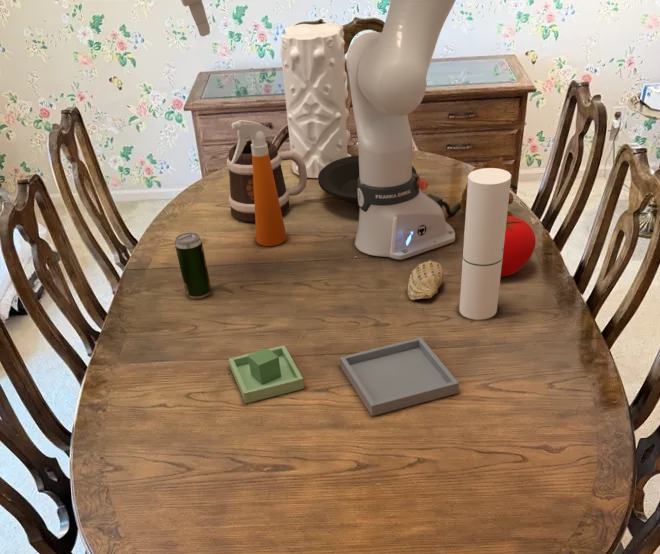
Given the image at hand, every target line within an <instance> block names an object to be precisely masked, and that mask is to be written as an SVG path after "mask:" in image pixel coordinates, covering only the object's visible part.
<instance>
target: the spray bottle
mask: <svg viewBox="0 0 660 554" xmlns="http://www.w3.org/2000/svg"><path fill="white" fill-rule="evenodd" d="M231 129H232V130H235V131H237V132H236V136H237V143H236V144H237V147H236V150H235V153H234V156H233V159H232V161H231V164H234V163H235V162H236V161H237V159H238V158H239V156H240V155H241V153H242V151H243V149H244V147H245V145H246V142H247V141H249V140H252V144H251V150H252V164H253V183H254V202H255V222H256V223H255V238H256V243H257V244H259V245H260V246H263V247H275V246H278V245H281V244H283V243H284V242H285V241H287V233H286V228H285V221H284V218H283V216H282V213H281V208H280V204H279V199H278V194H277V190H276V185H275V180H274V175H273V171H272V166H271V161H270V157H269V153H268V145H267V143H266V141H267V140H266V137H268V136H269V135H270V134H271V133H272V129H271V128H270V127H268V126H265V125H264V124H262V123H259V122H256V121H251V120H246V119H245V120H244V119H242V120H241V119H237V121H233V122H231Z"/></svg>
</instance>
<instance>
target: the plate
mask: <svg viewBox="0 0 660 554" xmlns="http://www.w3.org/2000/svg"><path fill="white" fill-rule="evenodd" d="M412 173H414V174H416V175H418V173H417V170H416V168H415V167H414V165H412ZM358 178H359V154H356V155H351V156H350V157H345V158H342V159H339V160H336V161H334V162H331V163H330V164H328V165H326V166H325V167H324V168H323V169H322V170H321V171H320V173H319V175H318V178H317V180H318V186H319V187H320V188H321V190H323V191H324V192H325V193H326V194H329V196H331V197H333V198H336V199H337V200H339V201H342V202H344V203H347V204H350V205H353V206H356V207H359V203H358V193H357V190H358Z"/></svg>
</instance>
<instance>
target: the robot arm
mask: <svg viewBox="0 0 660 554" xmlns="http://www.w3.org/2000/svg"><path fill="white" fill-rule="evenodd" d="M180 1H181V4H182V5H183V7H188V8H189V11H190V13H191V16H192V18H193V20H194V23H195V26H196V28H197V31H198V34H199V36H200V37H206V36H209V35H210V34H211V27H210V23H209V20H208V18H207V14H206V10H205V6H204V4H203V0H180ZM456 1H457V0H390V1H389V5H388V6H389V7H388V11H387V14H386V18H385V22H384V24H383V27H382V30H381V32H380V31H372V32H371V31H370V32H365V33H362V34H361V35H359V36H357V38H354V40H353V42H352V43H351V44H350V46H349V47H348V50H347V54H346V58H345V59H346V61H345V63H346V64H345V65H346V70H347V76H348V80H349V89H350V97H351V104H352V110H353V111H352V112H353V117H354V123H355V129H356V134H357V135H356V136H357V149H358V155H359V178H358V190H357V193H358V203H359V206H358V207H359V213H358V225H357V231H356V235H355V240H354V246H355V248H356V249H357V250H358V251H359V252H360V253H361V252H362V253H363V254H366V255H369V256H374V257H384V258H391V259H394V260H398V261H399V260H400V261H401V260H405V259H408V258H411V257H414V256H417V255H421V254H423V253H426V252H428V251H429V252H430V251H431V250H434V249H438V248H440V247H443V246H446V245H449V244H452V243H454V242H456V241H455V240H456V232H455V230H454V228H453V226H451V225H450V223H448V222H447V221H446V217H445V213H444V211H443V207H444V208H445V212H446V214H447V216H454V215H455V214H457V212H458V211H459V209H461V206H460V203H459V202H458V203H457V204H456V206H455V207H454V208H453V210H452V211H451V207H450V205H449V204H448V203H447V202H446V201H444V200H443V198H441V197H439V196H436V195H433V194H431V193H429V194H426V193H425V192H423V191H426V190H427V189H428V187H429V182H428V180H426V178H424V177H420V175H418V174H417V175H416V174H414V173H412V166H413V133H412V129H411V126H410V121H409V116H408V115H409V114H411V113H412V112H414V111H415V110H416V109H417V108H418V107H419V106H420V104H421V103H422V101H423V99H424V97H425V95H426V90H427V76H428V72H429V68H430V65H431V63H432V62H431V61H432V59H433V55H434V53H435V50H436V46H437V43H438V40H439V38H440V34H441V32H442V29H443V27H444V25H445V23H446V20H447V19H448V16H449V14H450V13H451V11H452V9H453V7H454V6H455V5H454V4H456ZM510 189H513V190H517V189H518V186H517V185H516V184H514V183H511V184H510Z"/></svg>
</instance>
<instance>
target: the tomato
mask: <svg viewBox="0 0 660 554" xmlns="http://www.w3.org/2000/svg"><path fill="white" fill-rule="evenodd" d="M536 243H537V241H536V233H535V232H534V229H533V227H532V226H531V225H530V224H529V223H528V222H527V221H525V220H524V219H523V218H519V217H517V216H514V215H513V216H507V221H506V230H505V239H504V249H503V258H502V267H501V277H500V278H503V277H507V276H510V275H513V274H515V273H517V272H518V271H519V270H521V269H522V268H523V267H525V265H526V264H527V263H528V262H529V260H530V259H531V257H532V255H533V253H534V251H535V247H536Z"/></svg>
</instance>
